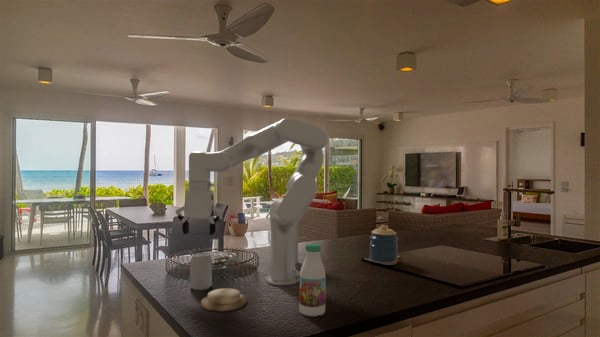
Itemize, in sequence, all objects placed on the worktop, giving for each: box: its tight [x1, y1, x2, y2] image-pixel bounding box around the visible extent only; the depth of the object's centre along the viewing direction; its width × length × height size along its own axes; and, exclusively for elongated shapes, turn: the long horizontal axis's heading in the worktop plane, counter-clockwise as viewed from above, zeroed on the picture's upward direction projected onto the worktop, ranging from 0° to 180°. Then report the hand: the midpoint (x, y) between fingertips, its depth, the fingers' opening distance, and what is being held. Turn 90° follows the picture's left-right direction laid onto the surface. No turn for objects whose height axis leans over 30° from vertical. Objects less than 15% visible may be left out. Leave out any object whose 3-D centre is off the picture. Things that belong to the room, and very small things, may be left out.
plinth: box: [200, 287, 247, 312], centre depth 117 cm, size 14×14×3 cm
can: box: [189, 252, 213, 291], centre depth 131 cm, size 8×8×12 cm
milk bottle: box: [298, 243, 327, 317], centre depth 110 cm, size 8×8×20 cm
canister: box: [369, 224, 399, 262], centre depth 170 cm, size 13×13×18 cm
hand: (198, 234), depth 132 cm, fingers open, 9 cm apart
